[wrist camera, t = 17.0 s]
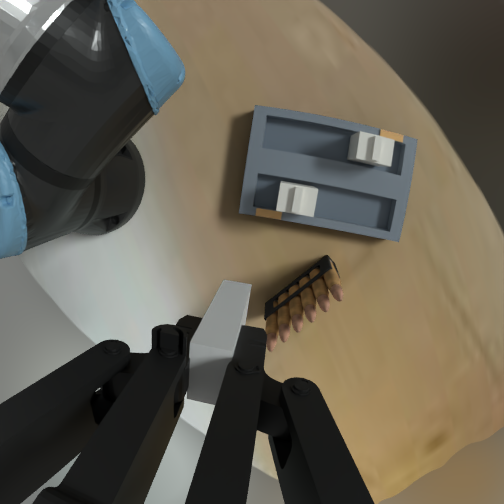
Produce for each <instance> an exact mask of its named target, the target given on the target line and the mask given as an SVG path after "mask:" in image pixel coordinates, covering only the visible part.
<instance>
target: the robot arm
mask: <svg viewBox="0 0 504 504" xmlns="http://www.w3.org/2000/svg"><path fill="white" fill-rule="evenodd" d="M184 78H185V67H184V65H183V62H182V61H181V59H180V58H179V56H178V55H177V53H176V52H175V50H174V49H173V47H172V46H171V44H170V43H169V42H168V40H167V39H166V38H165V36H164V35H163V34H162V33H161V31H160V30H159V29H158V27H157V26H156V25H155V24H154V23H153V21H152V20H151V19H150V18H149V17H148V15H147V14H146V13H145V12H144V11H143V10H142V9H141V7H140V6H138V5H137V3H136V2H135V1H134V0H0V102H1V103H3V104H5V105H6V106H8V107H10V108H9V110H8V111H7V113H6V115H5V116H4V118H3V120H2V121H1V123H0V259H2V258H5V257H10V256H16V255H20V254H21V253H22V252H23V251H26V250H28V249H30V248H33V247H35V246H38V245H40V244H43V243H45V242H48V241H50V240H53V239H55V238H58V237H61V236H63V235H66V234H68V233H71V232H78V233H83V234H88V235H101V234H106V233H109V232H111V231H114V230H116V229H118V228H120V227H122V226H123V225H124V224H126V223H127V222H128V221H129V220H130V219H131V218H132V217H133V215H134V214H135V212H136V211H137V209H138V207H139V205H140V203H141V200H142V197H143V193H144V187H145V171H144V165H143V161H142V158H141V155H140V153H139V151H138V149H137V148H136V146H135V145H134V143H133V142H132V141H131V140H130V139H131V138H132V137H133V136H134V135H135V134H136V133H137V132H138V131H139V129H140V128H141V127H142V126H143V125H144V124H145V123H146V122H147V121H148V120H149V119H150V118H151V117H152V116H153V115H157V114H158V112H159V108H160V107H161V106H162V105H163V104H164V103H165V102H166V101H167V100H168V99H169V98H170V97H171V96H172V95H173V94H174V93H175V92H176V91H177V90H178V89H179V87H180V86H181V85H182V83H183V81H184ZM251 285H252V284H246V283H240V282H235V281H229V280H223V282H222V284H221V286H220V287H219V289H218V291H217V293H216V295H215V297H214V299H213V300H212V302H211V304H210V306H209V308H208V310H207V312H206V313H205V315H204V317H203V318H199V317H194V316H190V315H186V316H184V317H183V318H181V319H179V321H178V322H177V324H176V325H169V324H165V325H159V326H156V327H154V328H153V329H152V349H151V350H150V352H149V353H130V348H129V346H128V345H127V344H126V343H124V342H122V341H119V340H105V341H103V342H100V343H98V344H97V345H95V346H94V347H92V348H90V349H89V350H87V351H85V352H84V353H82V354H81V355H79V356H77V357H76V358H74V359H73V360H71V361H69V362H68V363H66V364H65V365H63V366H61V367H60V368H58V369H56V370H55V371H53V372H52V373H50V374H48V375H47V376H45V377H44V378H42V379H40V380H39V381H37V382H36V383H34V384H32V385H30V386H29V387H27V388H26V389H24V390H23V391H21V392H19V393H17V394H16V395H14V396H13V397H11V398H9V399H8V400H6V401H5V402H3V403H1V404H0V504H20V503H22V502H23V501H24V500H25V499H26V498H27V497H29V496H30V495H31V494H32V493H33V492H35V491H36V490H37V489H38V488H40V487H41V486H42V485H43V484H44V483H46V482H47V481H48V480H49V479H50V478H51V477H53V476H54V475H55V474H56V473H57V472H59V471H60V470H61V469H62V468H63V467H64V466H65V465H67V464H68V463H69V462H70V461H71V460H72V459H74V458H75V457H76V456H77V455H78V454H79V453H80V455H79V456H78V458H77V459H76V461H75V462H74V464H73V465H72V467H71V468H70V470H69V472H68V473H67V474H66V476H65V478H64V479H63V481H62V482H61V484H60V485H59V486H57V487H47V488H45V489H43V490H42V491H41V492H40V494H39V495H38V496H37V498H36V499H35V501H34V502H33V504H144V502H145V499H146V497H147V494H148V492H149V489H150V487H151V485H152V482H153V480H154V477H155V475H156V472H157V470H158V468H159V465H160V463H161V460H162V458H163V455H164V453H165V450H166V448H167V446H168V443H169V441H170V438H171V436H172V434H173V431H174V429H175V426H176V424H177V422H178V419H179V417H180V414H181V412H182V410H183V407H184V396H185V394H186V392H187V399H191V400H195V401H200V402H204V403H209V404H213V405H215V408H214V411H213V414H212V418H211V421H210V424H209V427H208V431H207V434H206V437H205V440H204V444H203V447H202V450H201V454H200V457H199V460H198V463H197V466H196V469H195V473H194V476H193V480H192V482H191V486H190V489H189V492H188V495H187V498H186V502H185V504H246V500H247V494H248V487H249V481H250V474H251V467H252V460H253V453H254V446H255V438H256V431H257V430H258V431H261V432H263V433H266V434H268V439H269V444H270V448H271V452H272V456H273V460H274V464H275V467H276V471H277V475H278V479H279V483H280V487H281V491H282V495H283V499H284V502H285V504H374V502H373V500H372V498H371V495H370V493H369V491H368V489H367V487H366V485H365V483H364V481H363V479H362V477H361V475H360V473H359V471H358V468H357V466H356V464H355V462H354V460H353V458H352V456H351V454H350V452H349V450H348V448H347V446H346V444H345V441H344V439H343V437H342V435H341V433H340V431H339V429H338V427H337V425H336V423H335V421H334V419H333V417H332V415H331V412H330V410H329V408H328V406H327V404H326V402H325V400H324V398H323V396H322V394H321V392H320V390H319V388H318V387H317V385H316V384H315V383H313V382H312V381H310V380H307V379H304V378H297V377H295V378H289V379H287V380H285V381H284V383H281V382H278V381H276V380H274V379H272V378H270V377H269V376H268V375H267V374H266V373H265V371H264V360H265V351H266V342H267V334H266V332H265V330H264V329H262V328H256V327H251V326H245V323H246V316H247V310H248V304H249V298H250V291H251ZM98 388H101V389H100V390H98V391H96V390H97V389H98ZM95 391H96V392H95Z"/></svg>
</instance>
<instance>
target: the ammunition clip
mask: <svg viewBox="0 0 504 504" xmlns="http://www.w3.org/2000/svg"><path fill="white" fill-rule="evenodd" d="M328 289H329V290H330V291H331V293H332V295H333V297H334V298H335V299H336V300H337V301H342V299H343V290H342V286H341V281H340V277H339V274H338V271H337V268H336V265H335V263H334V262H333V261H332V260H331V258H330V257H329V256H328V255H326V256H324V257H323V258H322V259H321V260H319V261H318V262H317V263H316V264H314V265H313V266H312V267H311V268H309V269H308V270H307V271H306V272H304V273H303V274H302V275H301V276H299V277H298V278H297V279H296V280H294V281H293V282H292V283H291V284H289V285H288V286H287V287H285V288H284V289H283V290H282V291H280V292H279V293H278V294H276V295H275V296H274V297H273V298H271V299H270V300H269V301H267V302H266V303H265V315H264V319H265V320H266V318H267V321H266V330H265V331H266V334H267V342H266V344H267V348H268V350H269V351H270V352H271V351H273V350H274V348H275V346H276V343H277V338H278V334H279V335H280V339H281V340H282V341H283V342H286V341H287V339H288V337H289V334H290V326H291V323H292V325H293V328H294V330H295V331H296V332H300V331H301V329H302V326H303V315H304V311H305V315H306V317H307V319H308V320H309V321H310V322H314V320H315V318H316V299H317V302H318V304H319V306H320V308H321V309H322V310H323V311H324V312H327V311H328V310H329V306H330V303H329V297H328V296H329V292H328Z"/></svg>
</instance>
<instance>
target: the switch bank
mask: <svg viewBox="0 0 504 504" xmlns="http://www.w3.org/2000/svg"><path fill="white" fill-rule="evenodd" d="M359 131H362V132H366V133H370V134H374V135H378V136H382V137H386V138H390V139H393V140H395V142H394V149H393V156H392V163H391V167H378V166H374V165H369V164H365V163H361V162H356V161H352V160H347V157H348V150H349V144H350V137H351V135H353V134H355V133H357V132H359ZM416 147H417V139H414V138H411V137H408V136H404V135H401V134H397V133H394V132H390V131H386V130H382V129H379V128H375V127H371V126H367V125H362V124H358V123H354V122H350V121H345V120H340V119H336V118H331V117H326V116H321V115H315V114H310V113H304V112H299V111H292V110H286V109H280V108H273V107H265V106H258V105H255V109H254V115H253V121H252V128H251V134H250V141H249V147H248V154H247V161H246V167H245V174H244V181H243V188H242V195H241V202H240V209H239V213H241V214H248V215H254V216H260V217H266V218H272V219H278V220H284V221H290V222H296V223H301V224H307V225H313V226H318V227H324V228H329V229H335V230H340V231H346V232H351V233H356V234H361V235H367V236H372V237H377V238H382V239H387V240H392V241H397V242H399V239H400V235H401V231H402V226H403V222H404V217H405V212H406V207H407V202H408V197H409V191H410V186H411V180H412V174H413V168H414V161H415V154H416ZM281 181H285V182H291V183H297V184H303V185H308V186H314V187H316V188H317V189H318V194H317V200H316V206H315V211H314V217H310V216H305V215H299V214H293V213H287V212H281V211H276V208H277V202H278V195H279V189H280V183H281Z"/></svg>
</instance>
